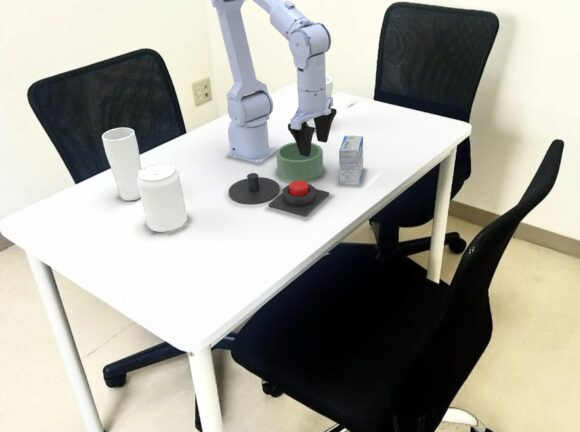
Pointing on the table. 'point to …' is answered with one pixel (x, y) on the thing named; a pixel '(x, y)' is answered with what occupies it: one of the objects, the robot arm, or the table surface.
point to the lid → (254, 190)
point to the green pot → (299, 162)
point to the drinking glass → (123, 160)
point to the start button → (298, 188)
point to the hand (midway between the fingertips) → (313, 148)
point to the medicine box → (351, 159)
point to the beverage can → (162, 197)
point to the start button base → (299, 201)
